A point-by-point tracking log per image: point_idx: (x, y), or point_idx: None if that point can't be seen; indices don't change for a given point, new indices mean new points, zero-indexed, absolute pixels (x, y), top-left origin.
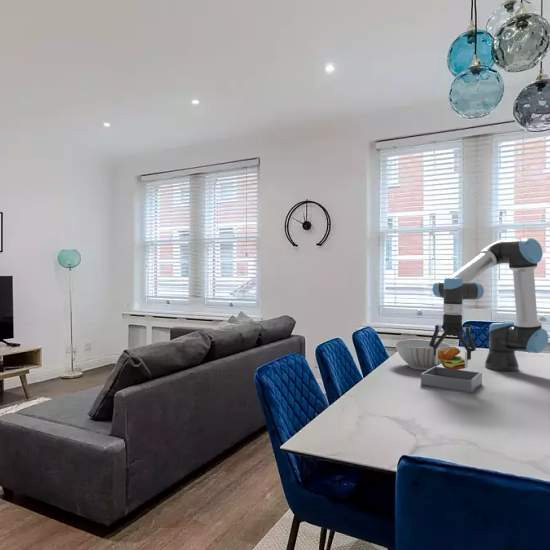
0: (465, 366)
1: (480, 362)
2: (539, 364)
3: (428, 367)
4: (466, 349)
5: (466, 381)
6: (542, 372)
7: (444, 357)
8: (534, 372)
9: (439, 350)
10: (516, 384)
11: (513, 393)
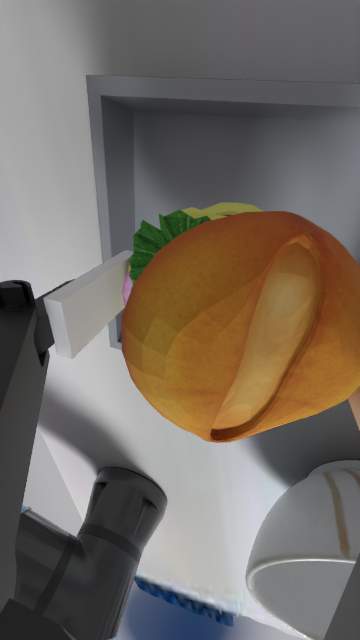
0: (128, 253)
1: (182, 527)
2: (85, 511)
3: (341, 469)
4: (24, 317)
5: (121, 79)
6: (61, 466)
7: (298, 220)
8: (71, 465)
9: (356, 415)
10: (57, 357)
11: (18, 234)
